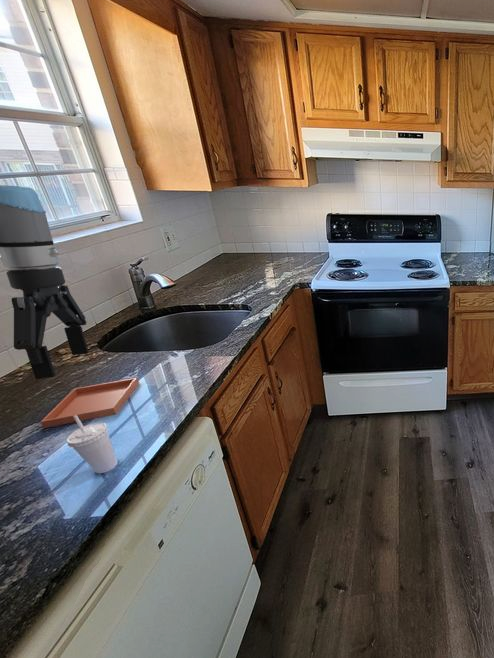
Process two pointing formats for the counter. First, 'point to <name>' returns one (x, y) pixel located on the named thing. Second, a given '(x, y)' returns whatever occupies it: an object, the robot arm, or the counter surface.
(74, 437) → the smoothie
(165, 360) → the counter surface
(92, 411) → the tray
